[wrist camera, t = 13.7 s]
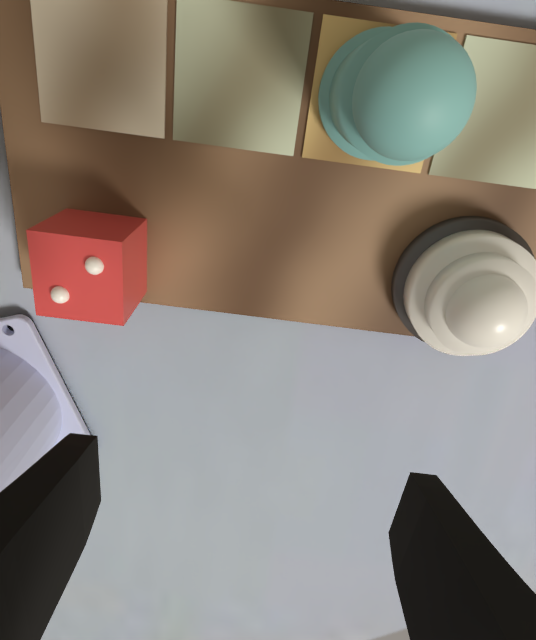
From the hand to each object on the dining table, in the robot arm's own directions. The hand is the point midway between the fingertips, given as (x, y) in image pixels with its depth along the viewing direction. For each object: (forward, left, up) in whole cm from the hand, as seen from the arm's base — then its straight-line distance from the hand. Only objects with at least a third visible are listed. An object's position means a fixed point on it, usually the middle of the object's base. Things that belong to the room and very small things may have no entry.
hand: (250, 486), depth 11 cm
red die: (-5, +4, -9) cm, 11 cm away
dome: (+8, 0, -8) cm, 11 cm away
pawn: (+5, +7, -9) cm, 13 cm away
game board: (+2, +5, -10) cm, 11 cm away
